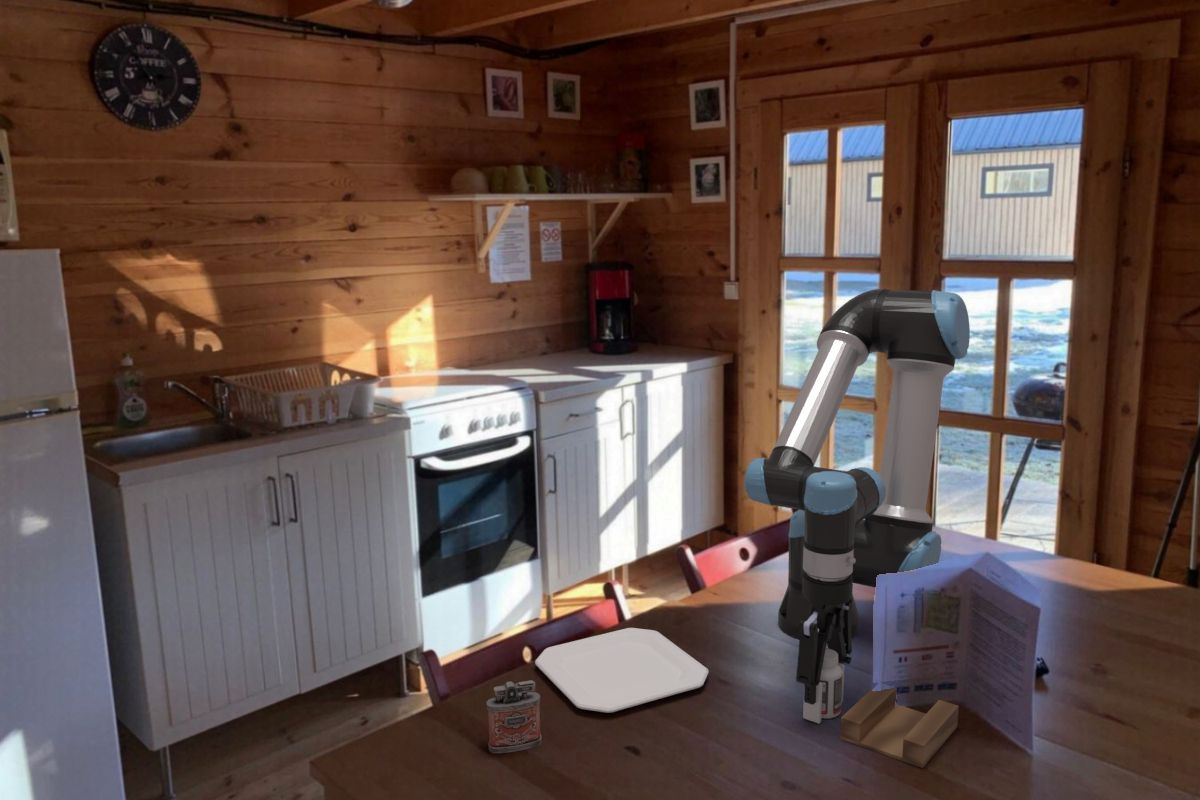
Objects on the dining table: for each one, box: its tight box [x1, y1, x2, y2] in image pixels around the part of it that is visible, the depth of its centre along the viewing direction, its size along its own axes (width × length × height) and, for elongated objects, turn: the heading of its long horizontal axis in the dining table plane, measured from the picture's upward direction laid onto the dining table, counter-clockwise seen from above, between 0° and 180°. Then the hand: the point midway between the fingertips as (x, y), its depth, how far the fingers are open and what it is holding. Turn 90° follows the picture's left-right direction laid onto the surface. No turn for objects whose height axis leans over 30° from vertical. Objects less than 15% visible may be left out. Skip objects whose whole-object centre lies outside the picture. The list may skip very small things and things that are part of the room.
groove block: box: [839, 688, 960, 769], centre depth 146 cm, size 13×14×4 cm
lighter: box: [486, 680, 543, 754], centre depth 144 cm, size 8×3×10 cm, turn 106°
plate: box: [534, 627, 710, 714], centre depth 166 cm, size 25×25×2 cm
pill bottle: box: [819, 647, 843, 720], centre depth 152 cm, size 5×5×10 cm
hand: (823, 709), depth 153 cm, fingers open, 7 cm apart
